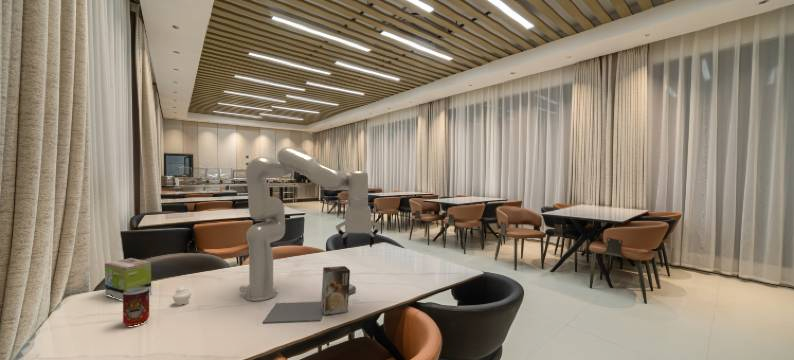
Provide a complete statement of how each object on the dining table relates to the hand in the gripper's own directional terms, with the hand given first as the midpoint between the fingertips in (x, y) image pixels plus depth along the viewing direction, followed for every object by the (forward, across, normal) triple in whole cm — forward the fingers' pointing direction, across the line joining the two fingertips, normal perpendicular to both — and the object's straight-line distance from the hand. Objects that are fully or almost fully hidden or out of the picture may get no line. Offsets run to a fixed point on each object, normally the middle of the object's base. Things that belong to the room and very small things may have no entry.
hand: (358, 246), depth 119 cm
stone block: (+25, -9, +17) cm, 32 cm away
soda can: (+24, -77, -4) cm, 81 cm away
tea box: (+24, -99, +23) cm, 105 cm away
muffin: (+24, -71, +12) cm, 76 cm away
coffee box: (+24, -9, 0) cm, 26 cm away
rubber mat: (+24, -23, 0) cm, 34 cm away
